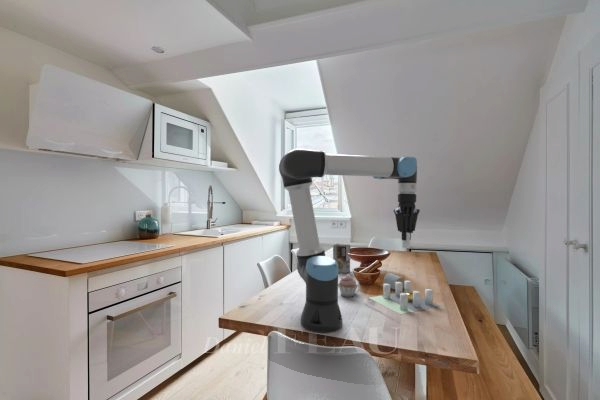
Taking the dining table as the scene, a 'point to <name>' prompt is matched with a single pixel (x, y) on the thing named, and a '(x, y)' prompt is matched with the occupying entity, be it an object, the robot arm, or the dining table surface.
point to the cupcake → (347, 286)
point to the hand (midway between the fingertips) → (406, 247)
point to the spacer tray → (404, 299)
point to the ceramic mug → (393, 280)
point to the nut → (410, 296)
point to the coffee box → (342, 257)
